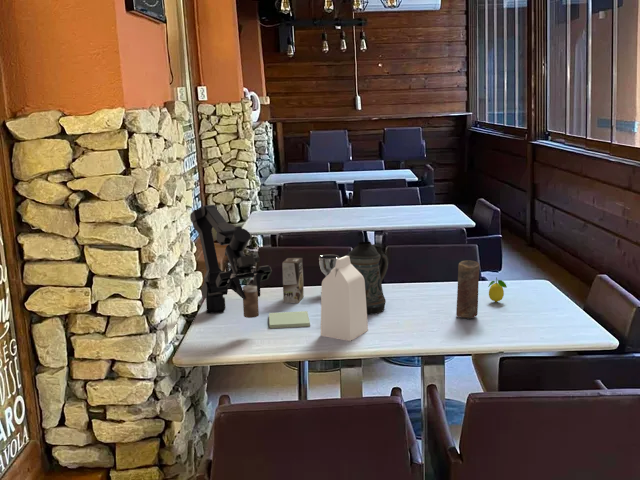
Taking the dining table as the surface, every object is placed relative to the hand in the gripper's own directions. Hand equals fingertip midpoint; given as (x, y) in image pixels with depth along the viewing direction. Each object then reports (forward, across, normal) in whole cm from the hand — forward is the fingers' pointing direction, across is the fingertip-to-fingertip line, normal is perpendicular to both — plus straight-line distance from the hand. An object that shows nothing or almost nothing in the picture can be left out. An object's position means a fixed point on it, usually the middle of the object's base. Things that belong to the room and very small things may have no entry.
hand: (252, 297), depth 237 cm
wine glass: (-13, +48, +32) cm, 59 cm away
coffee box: (-12, +31, +32) cm, 46 cm away
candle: (+27, +72, -8) cm, 77 cm away
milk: (+20, +27, -1) cm, 33 cm away
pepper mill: (+4, 0, +6) cm, 7 cm away
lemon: (+21, +93, -2) cm, 96 cm away
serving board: (+4, +17, +15) cm, 23 cm away
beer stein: (+5, +49, +14) cm, 51 cm away
